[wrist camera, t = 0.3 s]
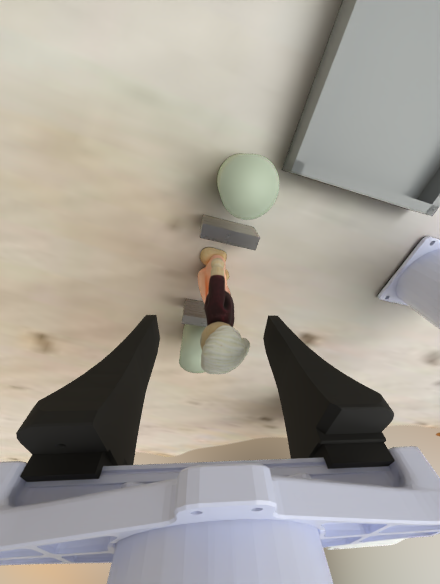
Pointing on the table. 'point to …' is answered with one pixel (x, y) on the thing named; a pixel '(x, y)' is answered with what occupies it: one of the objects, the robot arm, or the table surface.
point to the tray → (376, 105)
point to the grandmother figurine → (218, 317)
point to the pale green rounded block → (247, 185)
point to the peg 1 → (191, 349)
